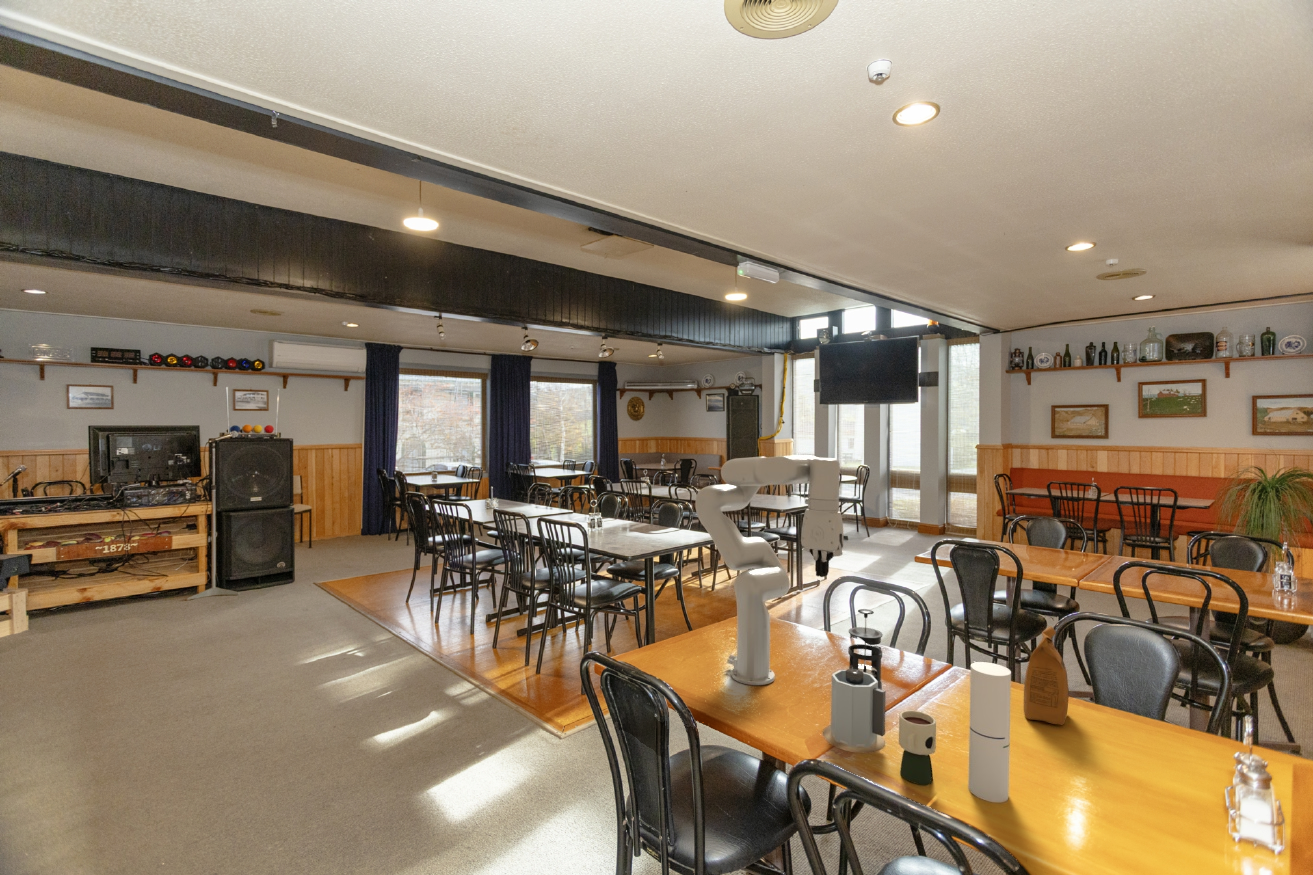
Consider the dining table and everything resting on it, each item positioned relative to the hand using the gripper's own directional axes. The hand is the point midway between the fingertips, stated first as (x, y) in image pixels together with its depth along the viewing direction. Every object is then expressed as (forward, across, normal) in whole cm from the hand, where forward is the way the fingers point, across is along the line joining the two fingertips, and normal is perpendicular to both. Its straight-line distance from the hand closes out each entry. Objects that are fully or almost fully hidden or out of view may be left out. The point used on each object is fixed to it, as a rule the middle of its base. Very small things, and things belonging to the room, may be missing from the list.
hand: (821, 575), depth 160 cm
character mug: (+35, +31, -15) cm, 49 cm away
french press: (+35, +4, +18) cm, 40 cm away
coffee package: (+35, +43, +38) cm, 67 cm away
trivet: (+35, +14, -9) cm, 38 cm away
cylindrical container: (+34, +43, -9) cm, 56 cm away
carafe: (+34, +15, -9) cm, 38 cm away
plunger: (+31, +14, -9) cm, 35 cm away
